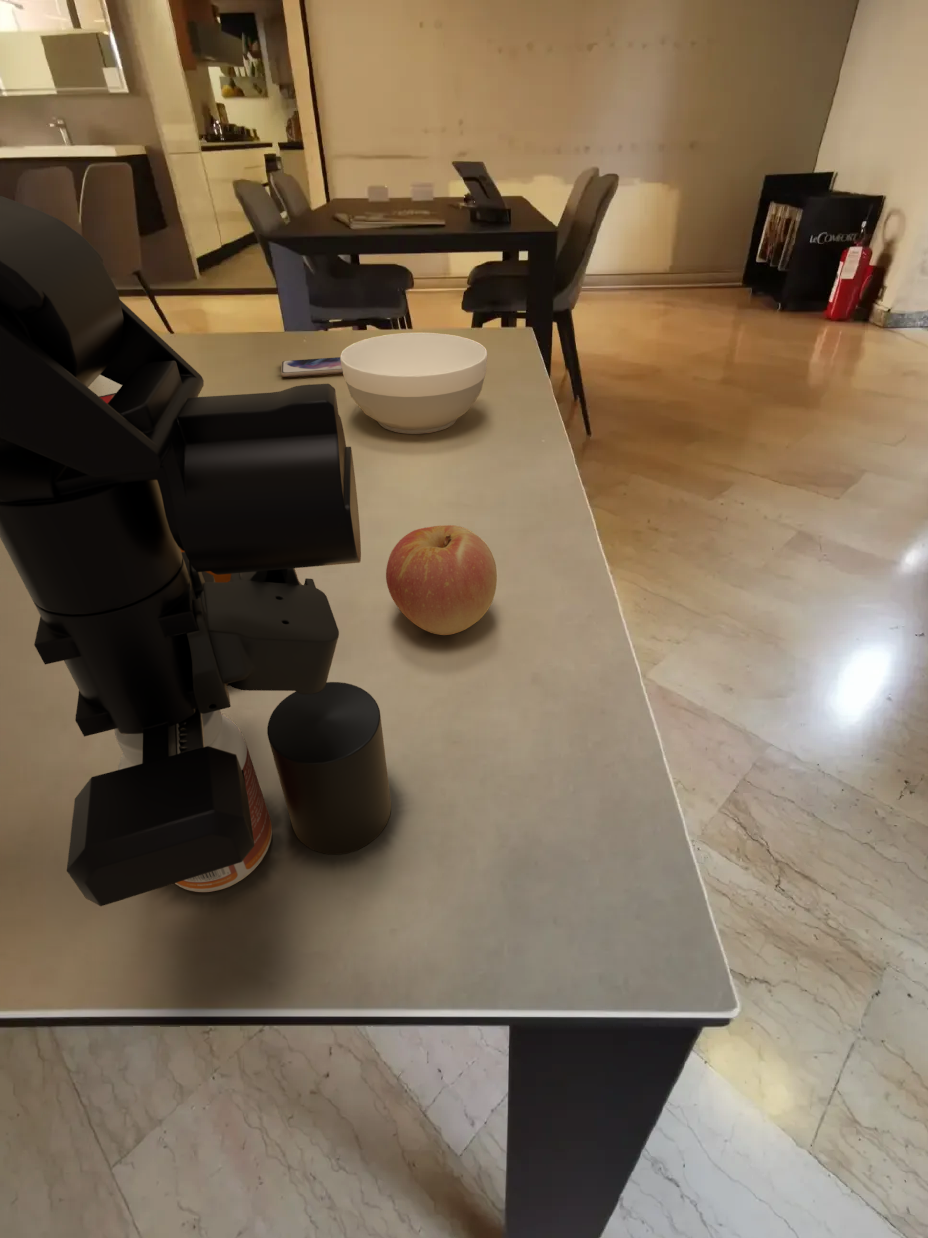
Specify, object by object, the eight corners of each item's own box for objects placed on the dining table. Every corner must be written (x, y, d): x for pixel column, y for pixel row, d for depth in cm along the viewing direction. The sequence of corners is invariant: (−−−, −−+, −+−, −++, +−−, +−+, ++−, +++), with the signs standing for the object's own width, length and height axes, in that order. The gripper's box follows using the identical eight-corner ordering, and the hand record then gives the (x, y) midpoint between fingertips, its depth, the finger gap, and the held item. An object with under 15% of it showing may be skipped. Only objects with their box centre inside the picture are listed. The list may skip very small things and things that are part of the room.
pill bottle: (239, 785, 42) (195, 653, 35) (294, 846, 39) (257, 712, 32) (144, 847, 39) (75, 713, 32) (195, 919, 35) (129, 787, 29)
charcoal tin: (274, 842, 39) (246, 751, 34) (316, 764, 44) (296, 673, 39) (371, 864, 38) (356, 773, 33) (403, 781, 42) (395, 690, 37)
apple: (429, 667, 51) (424, 581, 46) (371, 611, 57) (361, 528, 52) (517, 625, 55) (521, 541, 50) (454, 576, 61) (453, 497, 56)
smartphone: (281, 360, 109) (373, 354, 111) (282, 366, 109) (373, 359, 112) (280, 373, 103) (377, 366, 105) (281, 378, 104) (377, 372, 106)
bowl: (336, 403, 96) (328, 339, 90) (461, 388, 100) (461, 327, 95) (362, 455, 81) (355, 383, 76) (507, 435, 86) (509, 366, 81)
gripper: (356, 669, 22) (394, 911, 32) (278, 452, 36) (321, 666, 46) (-22, 764, 19) (147, 999, 29) (51, 488, 33) (149, 709, 43)
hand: (207, 809), depth 37 cm, fingers closed on pill bottle, 7 cm apart
